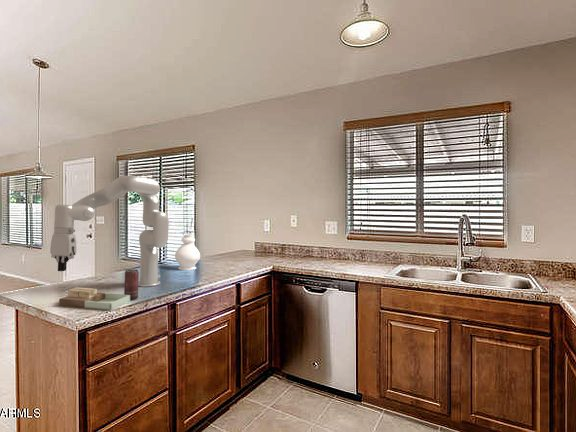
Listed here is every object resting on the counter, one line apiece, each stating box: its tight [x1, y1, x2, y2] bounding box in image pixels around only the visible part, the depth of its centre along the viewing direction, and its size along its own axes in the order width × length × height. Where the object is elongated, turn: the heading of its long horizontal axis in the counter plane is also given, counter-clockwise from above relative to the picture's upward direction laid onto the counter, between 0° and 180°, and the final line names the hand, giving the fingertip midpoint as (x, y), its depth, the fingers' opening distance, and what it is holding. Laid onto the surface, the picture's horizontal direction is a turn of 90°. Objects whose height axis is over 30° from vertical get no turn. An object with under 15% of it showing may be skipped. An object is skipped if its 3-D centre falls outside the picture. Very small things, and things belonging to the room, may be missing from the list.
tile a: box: [67, 287, 87, 297], centre depth 155 cm, size 5×5×3 cm
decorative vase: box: [174, 233, 201, 271], centre depth 244 cm, size 18×18×25 cm
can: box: [123, 269, 140, 301], centre depth 163 cm, size 6×6×14 cm
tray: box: [84, 292, 131, 311], centre depth 153 cm, size 14×12×3 cm
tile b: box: [79, 287, 98, 298], centre depth 154 cm, size 5×5×3 cm
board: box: [58, 291, 106, 309], centre depth 155 cm, size 14×12×3 cm
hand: (61, 270), depth 155 cm, fingers closed
